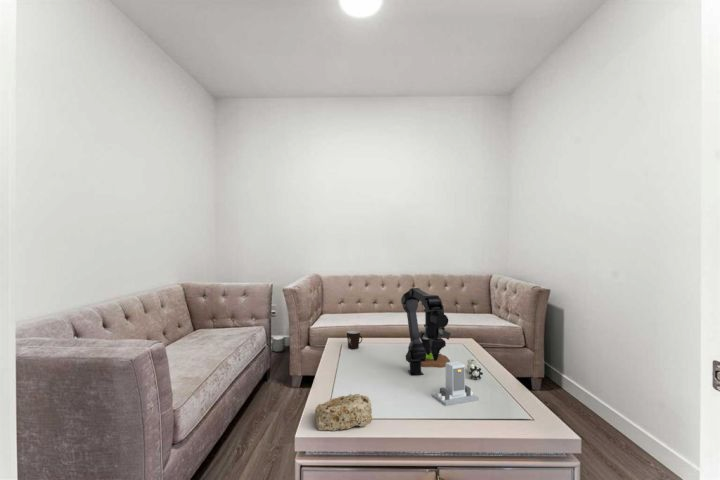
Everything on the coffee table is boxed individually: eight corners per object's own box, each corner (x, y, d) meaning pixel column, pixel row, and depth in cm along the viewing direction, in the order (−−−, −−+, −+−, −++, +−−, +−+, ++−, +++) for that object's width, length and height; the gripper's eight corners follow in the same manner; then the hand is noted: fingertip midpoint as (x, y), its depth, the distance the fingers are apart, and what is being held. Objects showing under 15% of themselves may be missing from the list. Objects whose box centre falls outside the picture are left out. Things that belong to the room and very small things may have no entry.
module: (445, 391, 153) (445, 362, 154) (457, 389, 156) (457, 361, 156) (453, 396, 148) (453, 366, 148) (465, 394, 150) (465, 365, 151)
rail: (445, 406, 145) (445, 395, 145) (432, 396, 154) (432, 386, 154) (478, 400, 150) (478, 389, 150) (463, 391, 160) (463, 381, 160)
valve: (463, 371, 185) (468, 380, 173) (463, 358, 186) (468, 366, 174) (477, 372, 185) (483, 380, 173) (477, 359, 185) (482, 366, 173)
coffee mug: (345, 346, 232) (345, 331, 233) (357, 345, 235) (357, 330, 235) (349, 351, 221) (349, 335, 222) (363, 350, 224) (363, 334, 224)
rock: (317, 438, 122) (314, 406, 124) (316, 428, 136) (312, 399, 138) (377, 426, 126) (372, 395, 128) (369, 417, 139) (365, 389, 142)
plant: (447, 357, 210) (447, 338, 210) (451, 368, 191) (451, 347, 191) (412, 356, 213) (412, 337, 213) (413, 367, 193) (412, 346, 194)
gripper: (457, 326, 158) (457, 363, 158) (440, 318, 176) (441, 351, 176) (432, 327, 156) (432, 364, 156) (418, 319, 175) (418, 352, 174)
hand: (431, 357), depth 165 cm, fingers open, 9 cm apart
